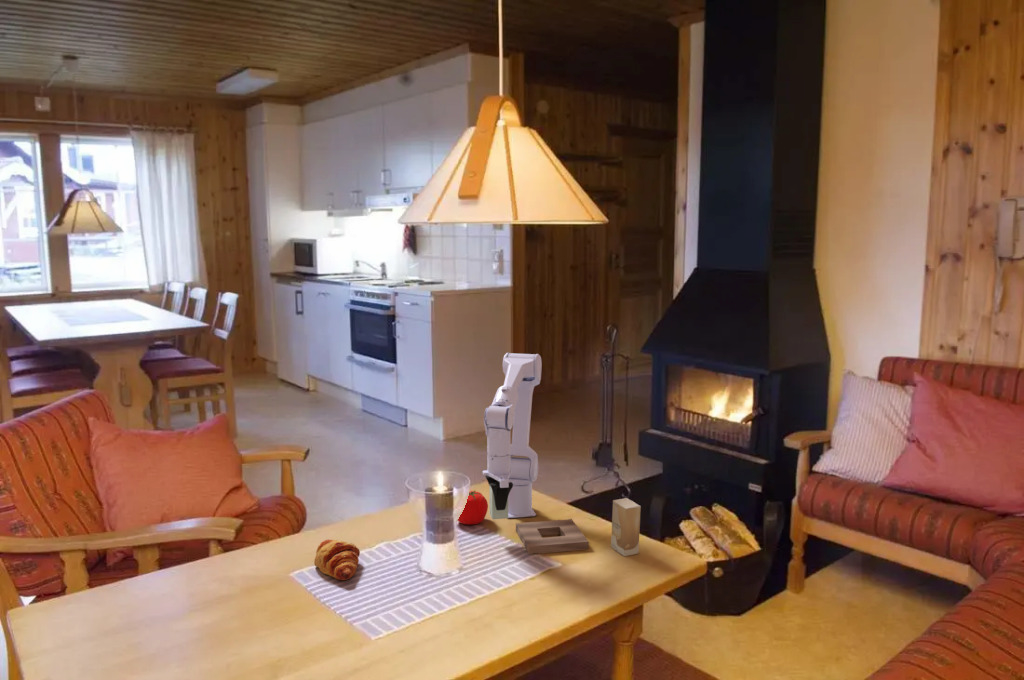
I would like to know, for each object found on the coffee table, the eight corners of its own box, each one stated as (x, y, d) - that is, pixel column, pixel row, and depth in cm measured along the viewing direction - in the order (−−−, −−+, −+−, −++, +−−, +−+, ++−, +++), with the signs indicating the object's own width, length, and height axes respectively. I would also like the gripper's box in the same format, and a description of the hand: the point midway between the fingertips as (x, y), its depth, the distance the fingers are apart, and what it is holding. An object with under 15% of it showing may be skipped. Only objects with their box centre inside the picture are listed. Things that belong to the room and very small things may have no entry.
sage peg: (489, 513, 197) (489, 483, 196) (505, 512, 198) (505, 482, 197) (492, 519, 194) (492, 488, 192) (508, 518, 194) (508, 487, 193)
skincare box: (610, 547, 193) (611, 499, 191) (625, 544, 195) (626, 497, 193) (624, 557, 187) (625, 508, 186) (639, 554, 189) (641, 505, 187)
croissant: (315, 566, 191) (298, 540, 188) (351, 540, 194) (334, 515, 191) (337, 601, 172) (319, 574, 169) (376, 572, 175) (359, 545, 173)
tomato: (448, 527, 206) (447, 496, 204) (459, 513, 215) (459, 484, 214) (482, 530, 203) (482, 499, 202) (492, 516, 213) (492, 486, 212)
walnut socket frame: (515, 530, 203) (515, 523, 203) (571, 526, 206) (571, 519, 206) (528, 554, 189) (528, 546, 188) (588, 549, 192) (588, 541, 192)
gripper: (478, 446, 200) (478, 497, 202) (488, 463, 186) (488, 518, 188) (505, 444, 201) (505, 495, 203) (517, 461, 187) (517, 515, 189)
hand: (498, 506), depth 196 cm, fingers closed on sage peg, 4 cm apart
